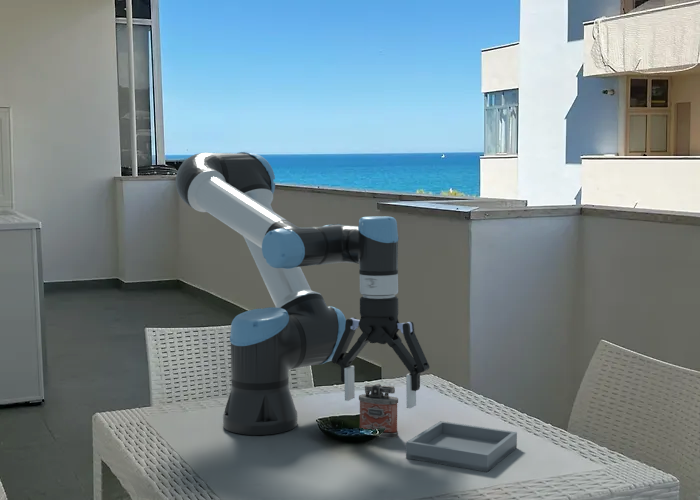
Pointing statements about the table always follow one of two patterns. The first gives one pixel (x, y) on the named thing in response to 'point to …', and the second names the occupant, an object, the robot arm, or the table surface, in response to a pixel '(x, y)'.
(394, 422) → the lighter
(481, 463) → the tray
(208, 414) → the table surface
